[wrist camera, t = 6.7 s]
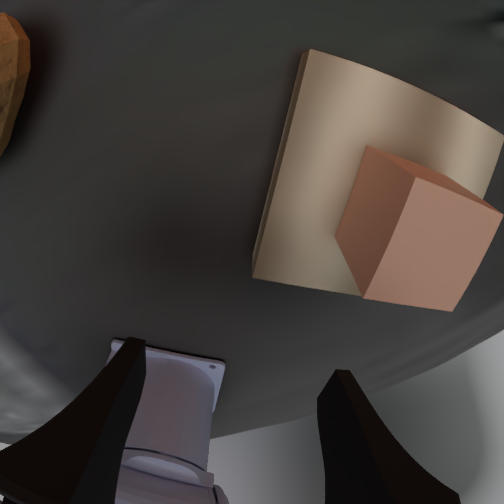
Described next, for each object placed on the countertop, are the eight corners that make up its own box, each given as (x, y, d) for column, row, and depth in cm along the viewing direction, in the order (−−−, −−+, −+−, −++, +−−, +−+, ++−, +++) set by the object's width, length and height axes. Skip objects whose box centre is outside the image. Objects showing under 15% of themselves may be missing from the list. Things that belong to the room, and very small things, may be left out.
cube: (334, 237, 16) (363, 298, 12) (366, 145, 14) (415, 176, 9) (411, 255, 17) (452, 311, 12) (445, 175, 14) (503, 214, 10)
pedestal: (252, 249, 20) (252, 277, 17) (300, 54, 14) (309, 48, 11) (413, 280, 21) (429, 306, 19) (476, 125, 15) (504, 136, 13)
